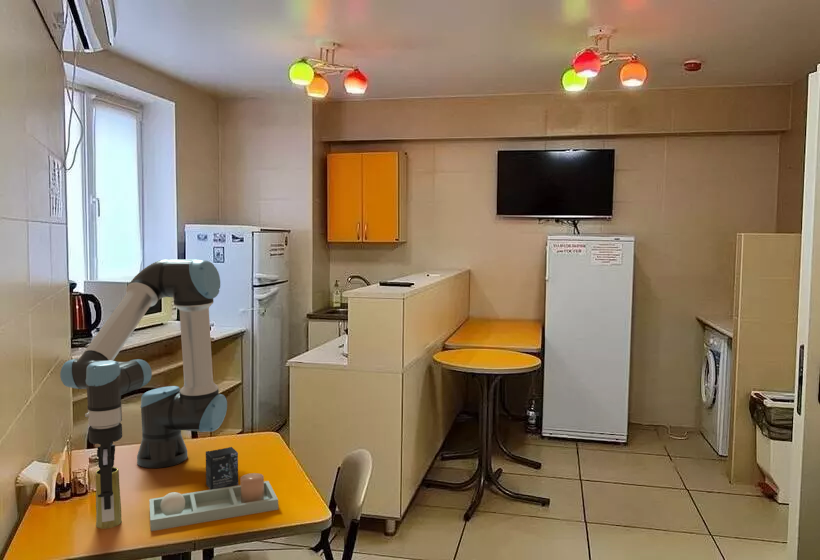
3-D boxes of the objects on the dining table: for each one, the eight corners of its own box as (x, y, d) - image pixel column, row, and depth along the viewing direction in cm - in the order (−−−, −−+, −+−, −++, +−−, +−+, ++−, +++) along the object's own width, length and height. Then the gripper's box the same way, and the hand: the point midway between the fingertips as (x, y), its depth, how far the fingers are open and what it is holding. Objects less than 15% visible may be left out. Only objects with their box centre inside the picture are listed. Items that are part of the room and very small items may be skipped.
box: (211, 493, 180) (210, 457, 180) (205, 487, 185) (204, 451, 184) (239, 487, 185) (238, 451, 184) (232, 481, 189) (231, 446, 189)
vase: (96, 533, 157) (93, 477, 156) (95, 523, 162) (93, 468, 161) (123, 528, 160) (121, 472, 158) (121, 518, 165) (119, 464, 164)
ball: (160, 513, 166) (159, 490, 166) (184, 509, 169) (184, 486, 168) (161, 522, 161) (160, 499, 160) (186, 518, 163) (185, 495, 163)
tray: (149, 511, 169) (149, 499, 169) (268, 492, 181) (268, 480, 181) (150, 534, 157) (150, 520, 156) (278, 512, 169) (278, 499, 168)
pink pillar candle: (239, 500, 174) (239, 475, 174) (261, 496, 176) (261, 471, 176) (242, 509, 169) (242, 483, 168) (266, 505, 171) (265, 479, 170)
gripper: (90, 415, 166) (94, 502, 168) (85, 437, 149) (89, 534, 151) (122, 412, 169) (125, 498, 171) (120, 433, 152) (124, 528, 153)
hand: (108, 515), depth 161 cm, fingers closed on vase, 6 cm apart
